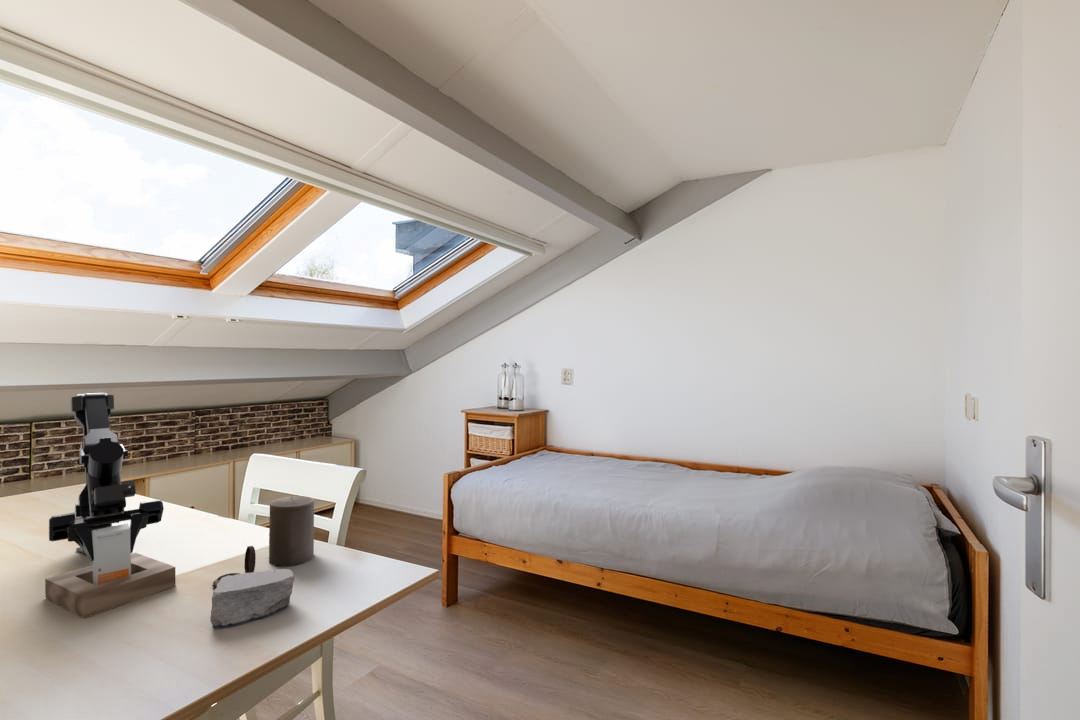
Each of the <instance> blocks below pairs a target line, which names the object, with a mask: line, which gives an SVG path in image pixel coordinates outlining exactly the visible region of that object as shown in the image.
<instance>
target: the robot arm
mask: <svg viewBox="0 0 1080 720" xmlns="http://www.w3.org/2000/svg"><path fill="white" fill-rule="evenodd" d="M114 410H115V395H114V394H108V393H107V392H94V393H93V392H91V393H87V392H86V393H77V394H76V396H72V397H71V398H70V413H71V414H72V413H74V421H75V422H76V424H77V425H78V427H80V428H81V429H82V434H83V439H82V447H79V449H78V451H79V453H78V455H79V458H78V459H79V464H80V465H83V468H84V473H85V476H84V477H85V486H84V487H83V489H82V490H81V492H80V493H79V496H78V499H77V502H78V503H75V504H74V512H69V513H63V514H56V515H55V514H54V515H52V516H51V517H50V518H49V519H48V540H49V541H50V542H58V541H62V540H67V542H74V543H76V545H77V546H79V547H77V548H75V550H76V552H79V553H82V554H84V555H86V556H87V558H88V559H89V560H90V561H91V562H92V561H94V552H93V547H92V530H96V529H102V528H106V527H111V526H113V524H119V523H120V522H125V521H130V524H129V528H130V548H131V554H132V553H134V548H135V544H136V541H137V538H138V535H139V533H140V531H141V530H142V529H146V527H147V526H148V525H153V524H158V523H160V522H161V521H162V517H163V513H164V509H165V508H164V504H163V503H164V502H163V501H162V500H160V499H159V498H158V499H152V500H147V501H139V506H138V507H139V508H137V509H136V508H135V509H130V510H129V509H128V510H125V508H126V507H127V501H126V500H127V499H126V498H130V497H131V498H132V497H135V496H136V484H135V479H131V480H124V481H123V483H122V480H121V471H122V467H123V460H125V459H126V457H128V456H129V450H128V449H127V448H125V447H124V445H123V443H120V440H119V436H118V434H116V433H115V432H113V431H112V430H111V427H110V417H111V412H112V411H114Z"/></svg>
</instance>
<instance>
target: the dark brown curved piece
mask: <svg viewBox="0 0 1080 720" xmlns="http://www.w3.org/2000/svg"><path fill="white" fill-rule="evenodd" d="M256 557H257V556H256V549H255V546H253V545H249V546H248V545H247V546H246V549H245V555H244V573H252V572H255V570H256V569H255V568H256V561H257V560H256V559H257V558H256ZM236 574H241V573H239V572H232V573H226V574H222V575H220V576H218V577H217V578H216V579H215V580H213V582H212V585H211V587H212V588H214V590H215V589H216V586H217V583H219V582H220V579H221V578H222V577H226V576H228V575H231V576H233V575H236Z"/></svg>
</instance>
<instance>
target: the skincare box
mask: <svg viewBox="0 0 1080 720" xmlns="http://www.w3.org/2000/svg"><path fill="white" fill-rule="evenodd" d="M92 547H93V552H94V561H91V562H92V565H93V584H94V585H96V586H98V585H101V584H104V583H107V582H110V581H113V580H116V579H120V578H123V577H126V576H129V575H131V554H132V553H131V548H130V525H129V524H128V523H124V524H118V525H112V526H111V527H106V528H102V529H96V530H92Z"/></svg>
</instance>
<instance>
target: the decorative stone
mask: <svg viewBox="0 0 1080 720" xmlns="http://www.w3.org/2000/svg"><path fill="white" fill-rule="evenodd" d="M294 575H295V574H294V572H293V571H292V570H291V569H287V568H279V569H276V570H275V571H271V570H264V571H260V570H259V571H258V570H257V571H254V572H252V573H245V572H244V573H240V574H236V575H233V576H231V575H228V576H226V577H222V578H221V579H220V582H219V583H217V586H216V589H215V588H214V590H213V593H212V596H211V610H210V624H211V625H212V628H215V629H221V628H230V627H235V626H241V625H243V624H246V623H250V622H253V621H254V622H255V621H258V620H262V619H266V618H268V617H270V616H272V615H274V614H276V613H278V612H280V611H283V610H284V609H286V608H287V607H288V606H289V605H290V603H291V595H292V593H293V586H294V583H295V576H294Z"/></svg>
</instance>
